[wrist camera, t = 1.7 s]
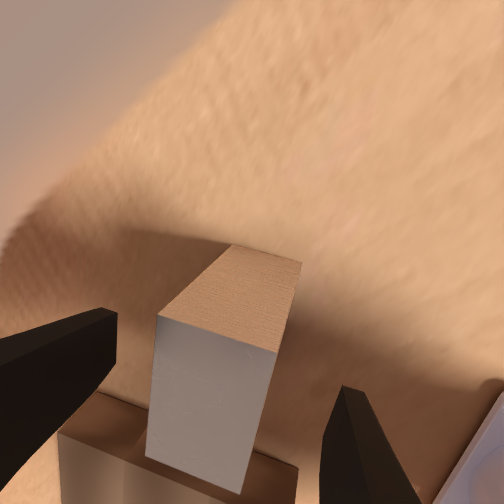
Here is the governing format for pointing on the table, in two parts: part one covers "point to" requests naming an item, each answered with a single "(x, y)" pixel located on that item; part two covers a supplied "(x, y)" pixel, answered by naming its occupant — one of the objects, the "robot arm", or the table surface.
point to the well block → (148, 465)
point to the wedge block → (218, 364)
